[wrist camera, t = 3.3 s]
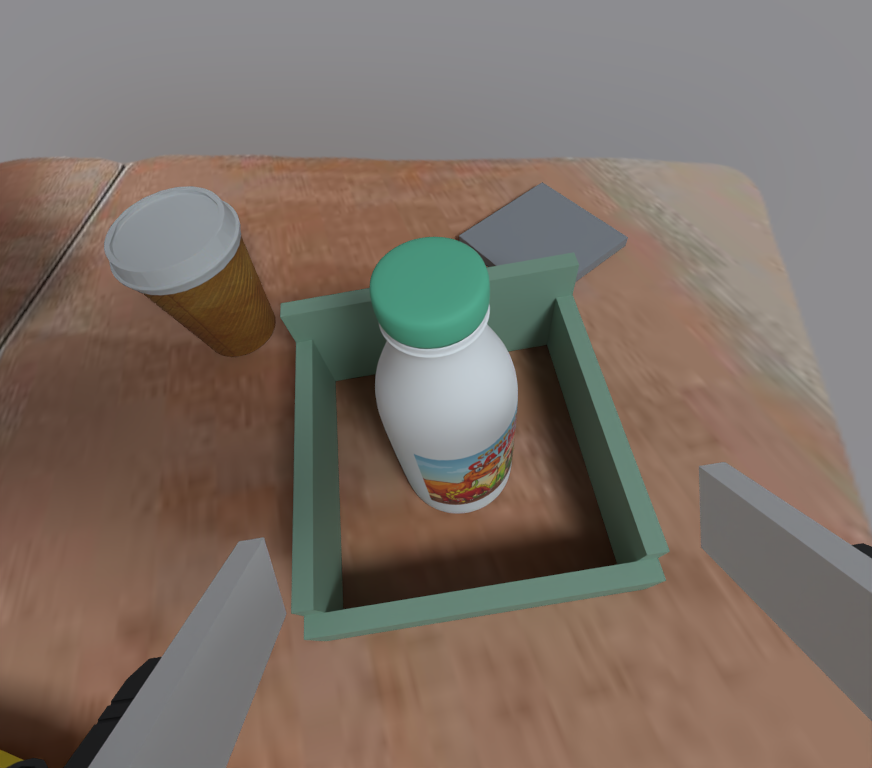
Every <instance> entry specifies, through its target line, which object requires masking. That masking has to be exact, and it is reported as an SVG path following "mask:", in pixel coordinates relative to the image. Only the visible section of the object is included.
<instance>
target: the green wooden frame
mask: <svg viewBox="0 0 872 768" xmlns="http://www.w3.org/2000/svg"><path fill="white" fill-rule="evenodd" d="M578 268H579V263H578V261H577V258H576V256H575V253H574V252H573V253H567V254H562V255H556V256H550V257H544V258H539V259H533V260H527V261H521V262H516V263H510V264H504V265H499V266H493V267H487V271H488V274H489V282H490V300H489V305H490V314H489V319H488V323H487V325H488V326H489V327H490V328H491V329H492V330H493V331H494V332H495V333H496V334H497V336H498V337H499V338H500V339H501V341H502V342H503V344H504V345H505V347H506V349H507V351H513V350H519V349H525V348H531V347H537V346H543V345H547V346H548V349H549V352H550V355H551V359H552V362H553V365H554V368H555V371H556V374H557V377H558V380H559V384H560V387H561V390H562V393H563V396H564V399H565V402H566V405H567V409H568V412H569V415H570V418H571V421H572V424H573V427H574V430H575V434H576V437H577V440H578V443H579V446H580V449H581V452H582V455H583V459H584V462H585V465H586V468H587V471H588V474H589V477H590V481H591V484H592V487H593V490H594V493H595V496H596V499H597V502H598V506H599V509H600V512H601V515H602V518H603V521H604V524H605V527H606V531H607V534H608V537H609V540H610V543H611V546H612V549H613V552H614V556H615V559H616V562H617V565H612V566H606V567H600V568H594V569H588V570H582V571H576V572H570V573H563V574H557V575H551V576H545V577H539V578H533V579H527V580H521V581H515V582H509V583H503V584H496V585H490V586H484V587H478V588H472V589H466V590H460V591H454V592H448V593H442V594H436V595H429V596H423V597H417V598H411V599H405V600H399V601H393V602H387V603H381V604H375V605H368V606H362V607H356V608H350V609H344V610H343V587H342V558H341V528H340V498H339V469H338V439H337V410H336V381H339V380H344V379H350V378H356V377H362V376H368V375H374V374H376V370H377V365H378V361H379V358H380V356H381V353H382V351H383V348H384V346H385V344H386V342H387V340H386V339H385V337H384V336H383V334H382V332H381V330H380V327H379V323H378V320H377V318H376V315H375V313H374V310H373V307H372V303H371V299H370V288H367V289H361V290H355V291H349V292H344V293H338V294H332V295H327V296H321V297H315V298H309V299H304V300H298V301H292V302H286V303H281V311H280V317H281V319H282V321H283V322H284V324H285V325H286V327H287V329H288V330H289V332H290V334H291V335H292V337H293V338H294V340H295V342H296V377H295V434H294V490H293V547H292V603H291V614H296V615H301V616H304V640H315V641H330V640H336V639H342V638H349V637H355V636H361V635H367V634H373V633H379V632H385V631H391V630H398V629H404V628H410V627H416V626H422V625H428V624H434V623H441V622H447V621H453V620H459V619H465V618H471V617H477V616H483V615H490V614H496V613H502V612H508V611H514V610H520V609H526V608H532V607H539V606H545V605H551V604H557V603H563V602H569V601H575V600H581V599H588V598H594V597H600V596H606V595H612V594H618V593H624V592H631V591H637V590H643V589H647V588H649V587H652V586H654V585H657V584H659V583H661V582H664V581H666V579H665V576H664V573H663V571H662V568H661V565H660V562H659V560H658V558H659V557H661V556H662V555H664V554H666V553H668V552H670V551H669V548H668V546H667V543H666V540H665V538H664V535H663V532H662V530H661V527H660V524H659V522H658V519H657V517H656V514H655V511H654V509H653V506H652V503H651V501H650V498H649V495H648V493H647V490H646V488H645V485H644V482H643V480H642V477H641V474H640V472H639V469H638V466H637V464H636V461H635V459H634V456H633V453H632V451H631V448H630V445H629V443H628V440H627V437H626V435H625V432H624V430H623V427H622V424H621V422H620V419H619V416H618V414H617V411H616V408H615V406H614V403H613V401H612V398H611V395H610V393H609V390H608V387H607V385H606V382H605V379H604V377H603V374H602V372H601V369H600V366H599V364H598V361H597V358H596V356H595V353H594V350H593V348H592V345H591V343H590V340H589V337H588V335H587V332H586V329H585V327H584V324H583V321H582V319H581V316H580V314H579V311H578V308H577V306H576V303H575V300H574V298H573V295H572V294H573V290H574V285H575V281H576V277H577V273H578Z"/></svg>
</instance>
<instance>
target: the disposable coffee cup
mask: <svg viewBox="0 0 872 768" xmlns="http://www.w3.org/2000/svg"><path fill="white" fill-rule="evenodd" d="M104 250H105V254H106V256H107V258H108V260H109V261H110V267H111V271H112V273H113V275H114V277H115V278H116V279H118V280H119V281H120V282H121V283H122V284H123V285H125V286H127V287H129V288H132V289H134V290H136V291H138V292H141V293H144V295H145V296H147V297H148V298H150V300H151V301H153V302H154V303H156V305H158V306H159V307H162V309H163V310H164V311H166V312H167V313H168V314H169V315H171V316H173V318H174V319H176V320H177V321H178V322H179V323H181V324H182V325H183V326H184V327H186V328H187V329H188V330H190V331H191V332H193V334H195V335H196V336H198V338H200V339H201V340H202V341H203V342H205V343H207V345H208V346H210V347H211V348H212V349H213V350H215V351H216V352H217V353H219V354H221V355H224V356H230V357H235V356H242V355H246V354H248V353H251V352H253V351H255V350H256V349H258V348H260V347H261V346H262V345H263V344H265V342H266V341H267V340H268V339H269V338H270V336H271V335H272V333H273V330H274V328H275V316H274V313H273V311H272V309H271V306H270V304H269V301H268V299H267V297H266V294H265V292H264V290H263V287H262V285H261V282H260V280H259V277H258V275H257V273H256V271H255V268H254V266H253V263H252V261H251V259H250V256H249V254H248V251H247V249H246V247H245V244H244V242H243V239H242V237H241V231H240V222H239V218H238V215H237V213H236V212H235V210H234V209H233V208H232V207H231V206H230V205H229V204H228V203H226V202H224V201H222V200H221V199H220V198H219V197H218V196H217V195H216V194H214V193H213V192H211V191H209V190H206V189H204V188H198V187H192V186H191V187H176V188H171V189H167V190H163V191H159V192H157V193H155V194H152V195H150V196H147V197H145V198H143V199H141V200H140V201H138V202H136V203H135V204H133V205H132V206H130V207H129V208H128V209H127V210H125V211H124V212H123V213H122V214H121V215H120V216H119V217H118V219H117V220H116V221H115V222H114V223H113V224H112V225H111V227H110V229H109V231H108V233H107V235H106V238H105V242H104Z"/></svg>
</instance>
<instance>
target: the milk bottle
mask: <svg viewBox="0 0 872 768" xmlns="http://www.w3.org/2000/svg"><path fill="white" fill-rule="evenodd" d="M370 299H371V303H372V307H373V310H374V313H375V315H376V318H377V320H378V323H379V327H380V330H381V332H382V334H383V336H384V337H385V339H386V340H387V342H386V344H385V346H384V348H383V351H382V353H381V356H380V358H379V361H378V365H377V370H376V376H375V395H376V401H377V407H378V411H379V414H380V417H381V420H382V423H383V425H384V428H385V431H386V433H387V435H388V438H389V440H390V442H391V444H392V447H393V449H394V451H395V453H396V456H397V458H398V460H399V462H400V464H401V466H402V468H403V471H404V473H405V475H406V477H407V479H408V481H409V483H410V485H411V486H412V488H413V490H414V491H415V493H416V494H417V495H418V496H419V497H420V498H421V499H422V500H423V501H424V502H425V503H427V504H428V505H430V506H431V507H433V508H435V509H438V510H440V511H444V512H448V513H468V512H472V511H475V510H478V509H480V508H482V507H484V506H486V505H488V504H489V503H491V502H492V501H493V500H494V499H495V498H496V497H497V496H498V495H499V494H500V493H501V491H502V490H503V488H504V487H505V485H506V483H507V480H508V477H509V474H510V469H511V464H512V456H513V447H514V439H515V429H516V418H517V405H518V386H517V379H516V372H515V368H514V365H513V362H512V360H511V357H510V355H509V353H508V351H507V349H506V347H505V345H504V344H503V342H502V341H501V339H500V338H499V337H498V336H497V334H496V333H495V332H494V331H493V330H492V329H491V328H490V327H489V326H488V325H487V323H488V319H489V314H490V305H489V300H490V282H489V274H488V271H487V268H486V266H485V263H484V261H483V260H482V258H481V257H480V255H479V254H478V253H477V252H476V251H475V250H474V249H472V248H471V247H470V246H468V245H466V244H464V243H462V242H460V241H457V240H454V239H450V238H444V237H425V238H419V239H415V240H411V241H408V242H406V243H403V244H401V245H399V246H397V247H395V248H394V249H392V250H391V251H389V252H388V253H387V254H386V255H385V256H384V257H383V258H382V259H381V260H380V261H379V262H378V264H377V265H376V267H375V269H374V271H373V273H372V276H371V280H370Z"/></svg>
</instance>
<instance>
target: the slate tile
mask: <svg viewBox="0 0 872 768" xmlns="http://www.w3.org/2000/svg"><path fill="white" fill-rule="evenodd" d="M627 239H628V237H626V236H625V235H623V234H622V233H620V232H619V231H617V230H615V229H614V228H612V227H611V226H609V225H608V224H606V223H605V222H603V221H601V220H600V219H598V218H597V217H595V216H594V215H592V214H591V213H589V212H588V211H586V210H584V209H583V208H581V207H580V206H578V205H577V204H575V203H574V202H572V201H570V200H569V199H567V198H566V197H564V196H563V195H561V194H560V193H558V192H556V191H555V190H553V189H552V188H550V187H549V186H547V185H546V184H544V183H540V184H539V185H537V186H536V187H534V188H533V189H531V190H529V191H528V192H526V193H525V194H523V195H522V196H520V197H519V198H517V199H515V200H514V201H512V202H511V203H509V204H508V205H506V206H504V207H503V208H501V209H500V210H498V211H497V212H495V213H494V214H492V215H490V216H489V217H487V218H486V219H484V220H483V221H481V222H480V223H478V224H476V225H475V226H473V227H472V228H470V229H469V230H467V231H465V232H464V233H462V234H461V235H459V241H460V242H462V243H464V244H466V245H468V246H470V247H471V248H472V249H474V250H475V251H476V252H477V253H478V254H479V255H480V257H481V258H482V260H483V261H484V263H485V265H487V266H488V267H493V266H499V265H504V264H510V263H516V262H521V261H527V260H533V259H539V258H544V257H550V256H556V255H562V254H567V253H573V252H574V253H575V256H576V258H577V261H578V263H579V268H578V273H577V277H576V281H577V280H579V279H580V278H582V277H583V276H584V275H586V274H587V273H588V272H590V271H591V270H593V269H594V268H595V267H597V266H598V265H599V264H601V263H602V262H604V261H605V260H606V259H608V258H609V257H610V256H612V255H613V254H615V253H616V252H617V251H619V250H620V249H621V248H623V247H624V246H625V245H626V242H627ZM576 281H575V282H576Z"/></svg>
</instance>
